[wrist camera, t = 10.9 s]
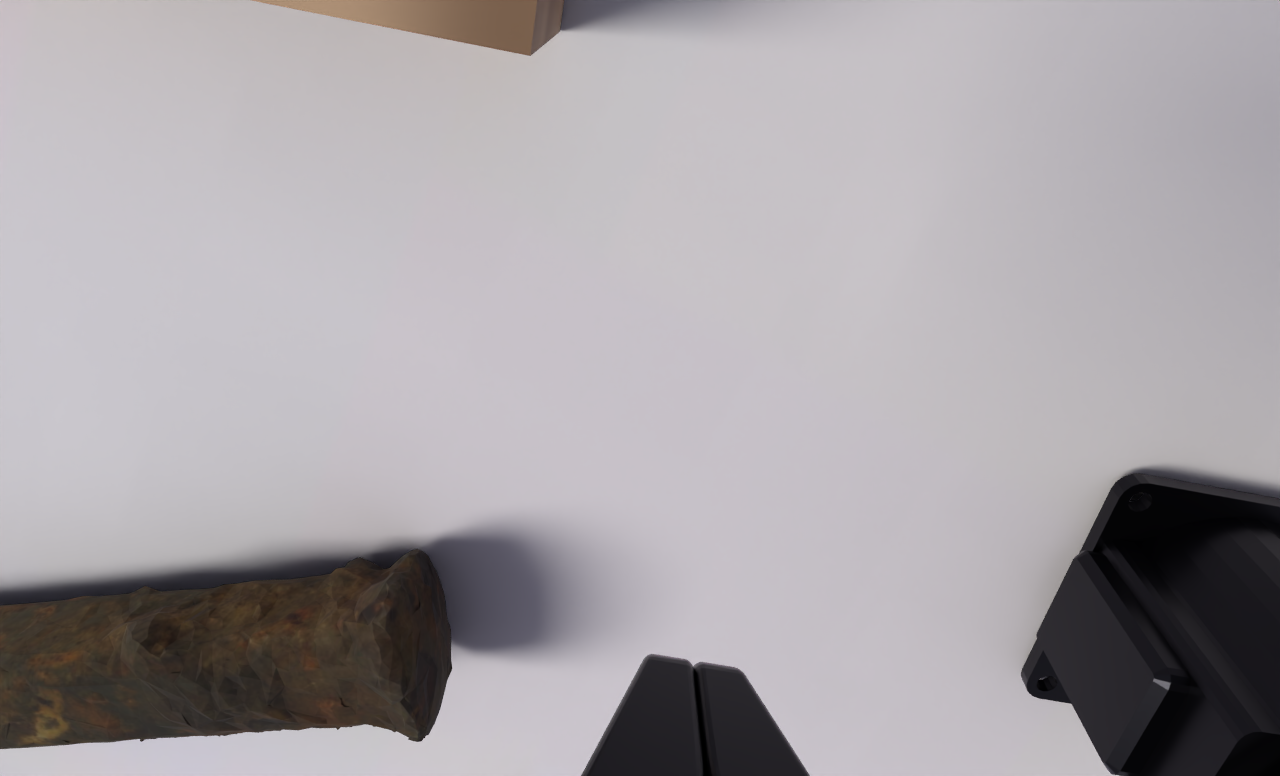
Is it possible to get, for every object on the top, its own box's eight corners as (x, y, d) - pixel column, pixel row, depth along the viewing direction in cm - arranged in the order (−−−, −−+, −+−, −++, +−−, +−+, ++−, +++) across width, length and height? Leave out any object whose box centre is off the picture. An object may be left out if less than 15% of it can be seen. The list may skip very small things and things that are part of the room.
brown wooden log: (443, 520, 22) (389, 653, 18) (469, 647, 24) (425, 796, 20) (-284, 554, 23) (-493, 686, 19) (-209, 673, 25) (-386, 819, 21)
